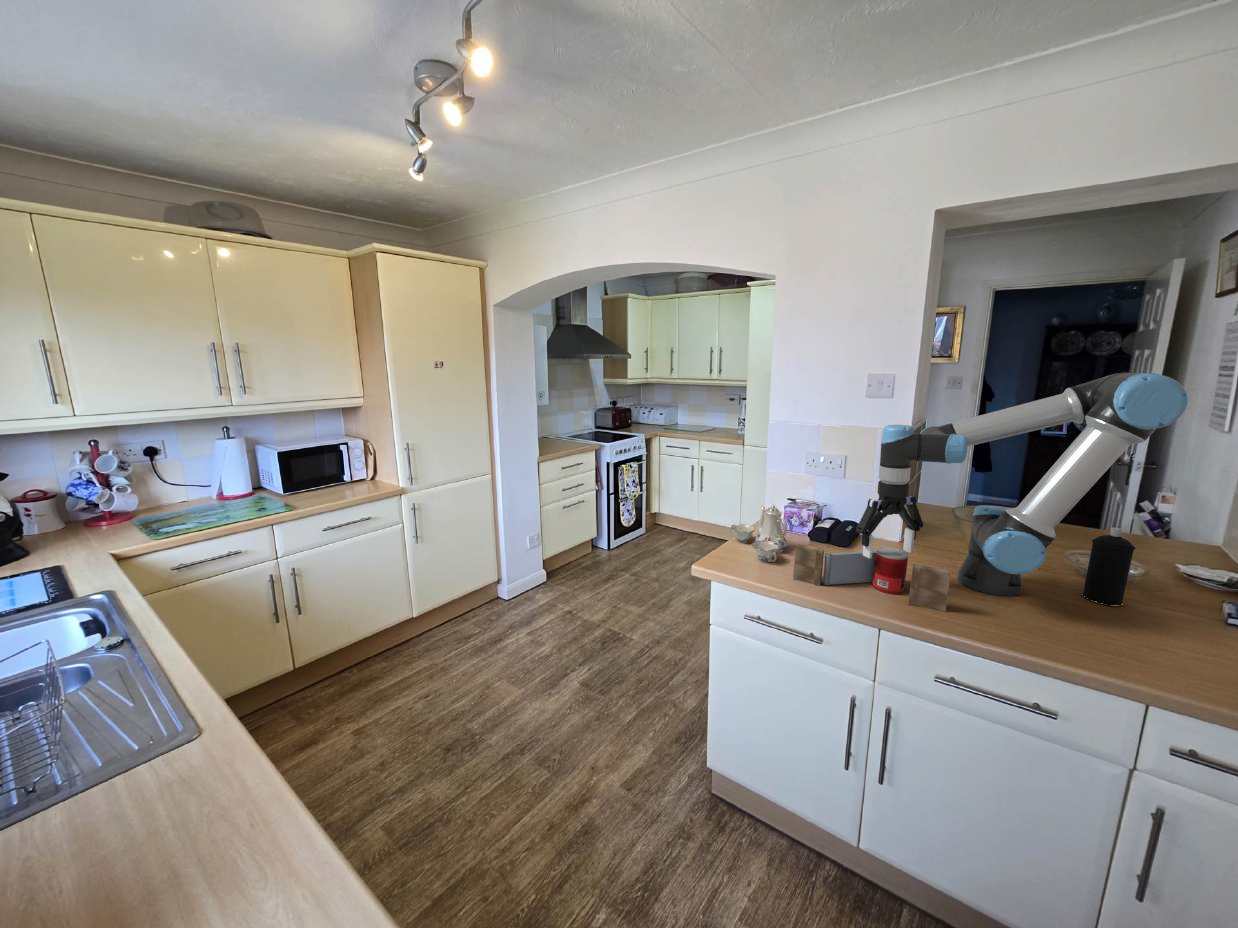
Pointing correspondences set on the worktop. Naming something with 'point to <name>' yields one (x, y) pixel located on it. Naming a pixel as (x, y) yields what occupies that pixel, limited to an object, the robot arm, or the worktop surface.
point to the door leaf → (848, 568)
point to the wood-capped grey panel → (924, 588)
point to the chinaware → (764, 534)
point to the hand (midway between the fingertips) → (887, 554)
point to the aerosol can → (1108, 568)
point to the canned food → (890, 570)
